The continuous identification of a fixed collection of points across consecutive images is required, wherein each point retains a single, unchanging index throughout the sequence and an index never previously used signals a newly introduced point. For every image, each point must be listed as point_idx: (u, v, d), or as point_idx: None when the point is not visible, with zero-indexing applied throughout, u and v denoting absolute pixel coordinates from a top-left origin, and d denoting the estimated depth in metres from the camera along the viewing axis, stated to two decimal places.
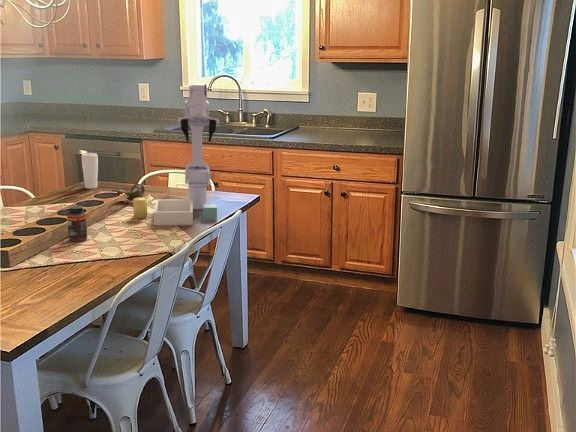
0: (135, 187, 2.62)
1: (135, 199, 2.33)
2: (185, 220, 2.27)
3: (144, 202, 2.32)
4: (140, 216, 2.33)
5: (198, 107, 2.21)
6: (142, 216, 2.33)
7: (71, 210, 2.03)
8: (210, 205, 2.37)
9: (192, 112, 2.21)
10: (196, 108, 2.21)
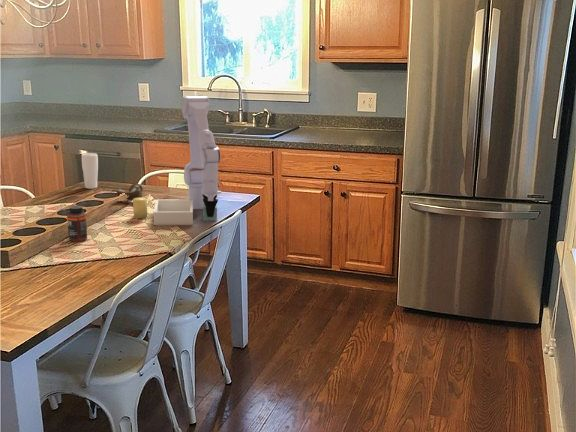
0: (133, 187, 2.62)
1: (135, 199, 2.33)
2: (185, 220, 2.27)
3: (144, 202, 2.32)
4: (140, 216, 2.33)
5: (217, 182, 2.34)
6: (142, 216, 2.33)
7: (71, 210, 2.03)
8: None
9: (215, 187, 2.33)
10: (217, 184, 2.34)
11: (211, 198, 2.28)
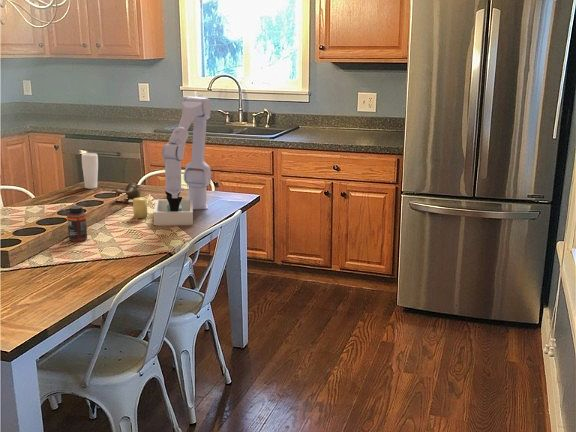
0: (130, 186, 2.63)
1: (135, 199, 2.33)
2: (185, 220, 2.27)
3: (144, 202, 2.32)
4: (140, 216, 2.33)
5: None
6: (142, 216, 2.33)
7: (71, 210, 2.03)
8: None
9: (179, 184, 2.27)
10: (180, 180, 2.28)
11: (175, 195, 2.22)
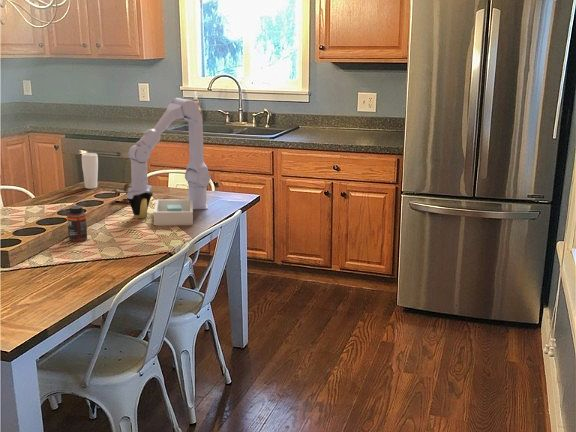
0: (128, 186, 2.63)
1: None
2: (185, 220, 2.27)
3: (144, 202, 2.32)
4: (140, 216, 2.33)
5: (146, 181, 2.31)
6: (142, 216, 2.33)
7: (71, 210, 2.03)
8: (174, 206, 2.31)
9: (141, 186, 2.30)
10: (144, 182, 2.30)
11: (129, 196, 2.26)
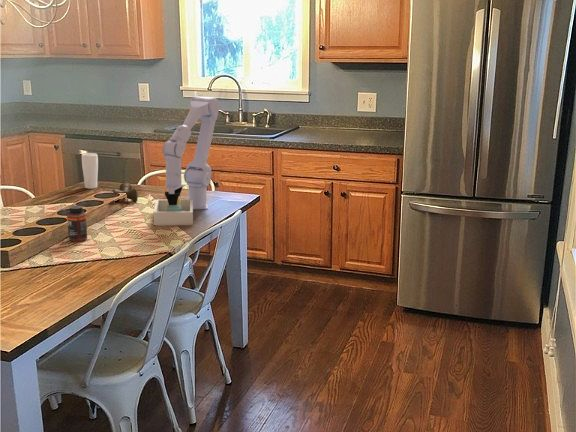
0: (125, 186, 2.63)
1: None
2: (185, 220, 2.27)
3: (180, 199, 2.36)
4: None
5: None
6: None
7: (71, 210, 2.03)
8: (174, 206, 2.31)
9: (178, 181, 2.33)
10: (180, 177, 2.34)
11: (172, 191, 2.29)
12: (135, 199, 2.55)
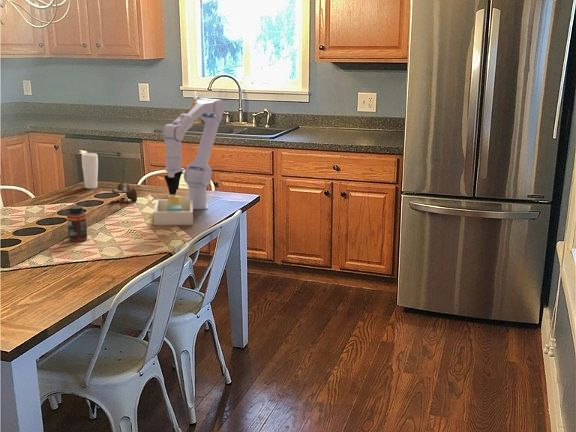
0: (123, 186, 2.63)
1: (170, 197, 2.36)
2: (185, 220, 2.27)
3: (180, 199, 2.36)
4: None
5: None
6: None
7: (71, 210, 2.03)
8: (174, 206, 2.31)
9: (178, 164, 2.31)
10: (180, 161, 2.32)
11: (171, 174, 2.27)
12: (134, 199, 2.55)
